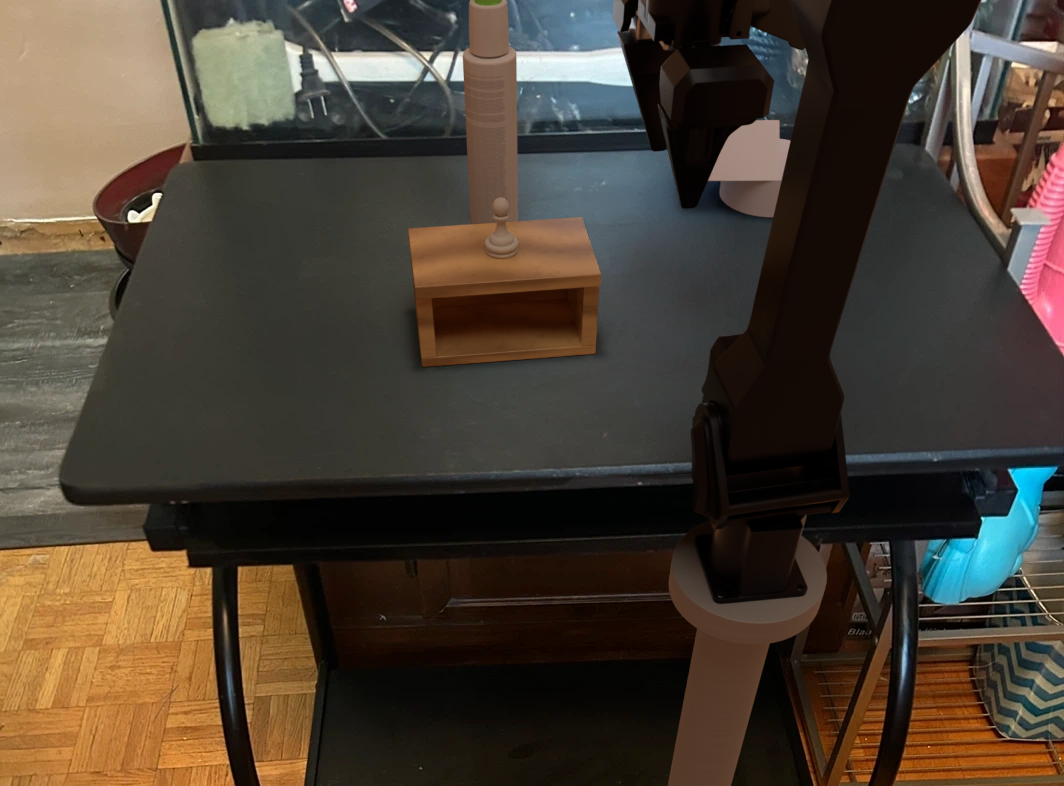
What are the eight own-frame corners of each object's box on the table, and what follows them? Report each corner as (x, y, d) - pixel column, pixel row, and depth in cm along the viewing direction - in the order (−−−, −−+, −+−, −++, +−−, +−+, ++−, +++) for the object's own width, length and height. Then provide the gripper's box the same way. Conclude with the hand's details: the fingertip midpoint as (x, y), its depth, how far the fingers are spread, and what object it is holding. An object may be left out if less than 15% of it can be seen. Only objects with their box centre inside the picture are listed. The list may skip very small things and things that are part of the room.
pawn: (479, 247, 79) (476, 195, 76) (508, 239, 80) (507, 186, 77) (495, 262, 78) (493, 209, 75) (524, 254, 78) (524, 201, 75)
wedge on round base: (682, 217, 96) (820, 217, 96) (691, 141, 91) (837, 141, 91) (674, 174, 102) (804, 173, 102) (682, 100, 97) (819, 99, 97)
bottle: (526, 243, 94) (525, -16, 78) (482, 253, 92) (471, -7, 77) (507, 222, 96) (502, -33, 80) (464, 231, 95) (450, -25, 79)
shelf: (596, 357, 82) (601, 274, 77) (422, 370, 81) (414, 287, 76) (578, 298, 88) (582, 216, 82) (415, 310, 87) (407, 228, 81)
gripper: (886, -52, 56) (823, 231, 68) (783, -139, 68) (745, 117, 80) (689, -41, 55) (660, 244, 67) (618, -131, 67) (605, 126, 79)
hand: (672, 177), depth 73 cm, fingers open, 9 cm apart
